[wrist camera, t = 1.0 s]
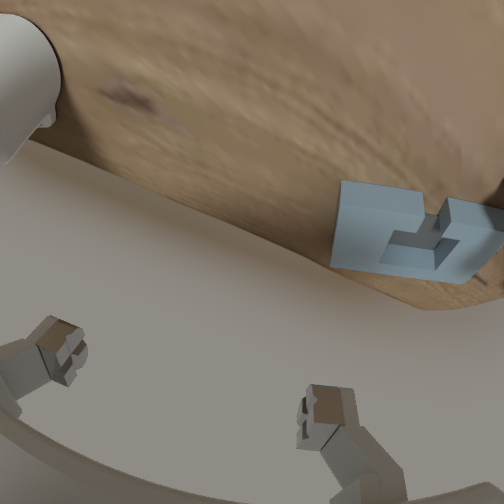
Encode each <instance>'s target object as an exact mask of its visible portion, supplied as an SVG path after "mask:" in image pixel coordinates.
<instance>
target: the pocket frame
mask: <svg viewBox="0 0 504 504" xmlns="http://www.w3.org/2000/svg"><path fill="white" fill-rule="evenodd" d="M438 214H439V216H437V215H431V214H426V213H425V212H424V203H423V194H422V192H418V191H412V190H406V189H400V188H394V187H388V186H381V185H374V184H367V183H360V182H353V181H345V180H341V189H340V197H339V204H338V212H337V219H336V225H335V232H334V239H333V245H332V253H331V261H330V267H333V268H341V269H348V270H356V271H363V272H371V273H378V274H386V275H393V276H401V277H409V278H416V279H424V280H432V281H439V282H447V283H455V284H462V285H463V284H464V283H465V282H466V281H467V280H468V279H469V278H470V277H471V276H473V275H474V274H475V273H476V272H477V271H478V270H479V269H480V268H481V267H482V266H483V265H484V264H485V263H486V262H487V261H488V260H490V259H491V258H492V257H493V256H494V255H495V254H496V253H497V252H498V251H499V250H500V249H501V248H502V247H503V245H504V210H502V209H498V208H494V207H490V206H485V205H481V204H477V203H472V202H468V201H463V200H459V199H454V198H449V197H448V198H447V199H446V201H445V203H444V205H443V206H442V208H441V210H440V212H439V213H438ZM441 237H443V238H442V240H441V241H440V243H439V244H438V245H437V247H436V248H435V250H433V248H434V247H435V246H436V244H437V243H438V241H439V240H440V239H441ZM388 243H390V244H388ZM395 244H397V245H395ZM402 245H403V246H402ZM409 246H410V247H409ZM415 247H417V248H415ZM422 248H424V249H422ZM429 249H430V250H429Z"/></svg>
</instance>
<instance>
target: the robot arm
mask: <svg viewBox="0 0 504 504" xmlns="http://www.w3.org/2000/svg"><path fill="white" fill-rule="evenodd" d="M60 86H61V76H60V69H59V65H58V62H57V59H56V56H55V54H54V51H53V49H52V47H51V45H50V44H49V42H48V41H47V39H46V38H45V36H44V35H43V34H42V33H41V31H40V30H39V29H38V28H37V27H36V26H34V25H33V24H32V23H31V22H29V21H28V20H26V19H24V18H22V17H20V16H17V15H12V14H1V13H0V165H3V164H7V163H9V162H10V161H11V159H12V158H13V157H14V156H15V154H16V153H17V152H18V150H19V149H20V148H21V146H22V145H23V144H24V143H25V142H26V140H27V139H28V138H29V137H30V136H31V135H32V133H33V132H34V131H35V130H36V129H37V128H46V127H50V126H51V125H52V124H53V123H54V122H55V121H56V111H55V103H56V100H57V98H58V95H59V92H60ZM83 337H84V332H83V329H82V328H80V327H77V326H75V325H72V324H70V323H68V322H65V321H63V320H61V319H58V318H56V317H54V316H51V315H50V316H47V317H46V318H45V319H44V320H43V321H42V322H41V323H40V324H39V325H38V326H37V327H36V329H35V330H34V331H33V332H32V333H31V334H30V335H29V336H28V337H27V338H26V339H19V340H17V341H14V342H11V343H8V344H5V345H2V346H0V504H247V503H239V502H233V501H227V500H222V499H216V498H211V497H206V496H202V495H197V494H193V493H188V492H184V491H181V490H177V489H173V488H170V487H166V486H163V485H159V484H156V483H153V482H150V481H147V480H144V479H141V478H138V477H135V476H132V475H129V474H127V473H124V472H121V471H119V470H116V469H113V468H111V467H109V466H106V465H104V464H101V463H99V462H97V461H95V460H92V459H90V458H88V457H86V456H84V455H82V454H80V453H78V452H76V451H74V450H72V449H69V448H68V447H66V446H64V445H62V444H60V443H58V442H56V441H54V440H52V439H51V438H49V437H47V436H45V435H44V434H42V433H40V432H39V431H37V430H35V429H34V428H32V427H30V426H29V425H27V424H26V423H24V422H23V421H21V420H19V419H18V418H19V416H20V415H21V413H22V409H21V407H20V406H19V404H18V403H17V401H16V400H18V399H20V398H21V397H23V396H25V395H27V394H29V393H30V392H32V391H34V390H36V389H37V388H39V387H41V386H43V385H45V384H46V383H48V382H50V381H51V380H53V381H55V382H58V383H60V384H62V385H64V386H67V387H69V386H70V385H71V383H72V382H73V380H74V379H75V377H76V376H77V374H76V370H77V369H80V368H82V367H83V365H84V364H85V362H86V359H87V356H88V348H87V344H86V343H85V342H84V340H83ZM297 423H298V425H299V426H300V429H299V430H298V432H297V449H303V450H312V451H320V453H321V455H322V456H323V458H324V460H325V461H326V463H327V464H328V466H329V468H330V469H331V471H332V473H333V474H334V476H335V477H336V479H337V480H338V482H339V484H340V485H341V487H342V488H343V490H342V491H340V492H339V493H338V494H336V495H335V496H334V497H333V498H331V499H330V504H504V492H503V491H501V490H500V489H499V488H498V487H496V486H495V485H493V484H492V483H490V482H482V483H478V484H475V485H472V486H469V487H466V488H463V489H459V490H456V491H452V492H448V493H444V494H440V495H436V496H431V497H426V498H421V499H416V500H411V501H408V498H407V492H406V485H405V480H404V474H403V469H402V468H401V467H400V466H399V465H398V464H397V463H396V462H395V461H394V460H393V458H391V456H390V455H389V454H388V453H387V452H386V451H385V450H384V448H383V447H382V446H381V445H380V444H379V443H378V442H377V441H376V440H375V438H374V437H373V436H372V435H371V434H370V433H369V432H368V431H367V430H366V428H365V427H364V426H360V424H359V418H358V412H357V406H356V400H355V394H354V390H353V389H352V388H342V387H333V386H323V385H314V384H310V385H309V386H308V388H307V390H306V397H304V398H302V400H301V402H300V405H299V409H298V414H297Z"/></svg>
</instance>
